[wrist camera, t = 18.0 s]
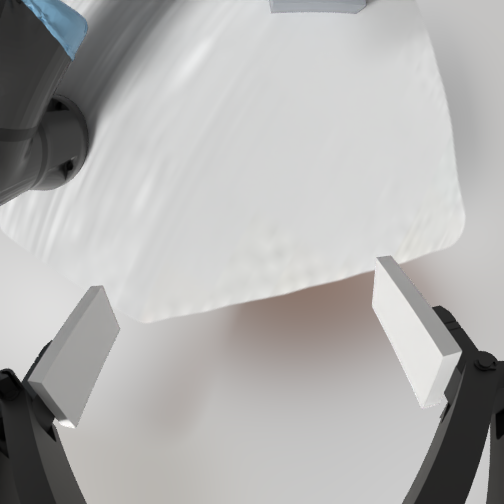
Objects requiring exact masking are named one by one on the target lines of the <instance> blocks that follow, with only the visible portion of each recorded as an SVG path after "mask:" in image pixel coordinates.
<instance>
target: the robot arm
mask: <svg viewBox="0 0 504 504" xmlns="http://www.w3.org/2000/svg"><path fill="white" fill-rule="evenodd" d="M87 30H88V25H87V22H86V20H85V18H84V17H83V16H82V15H80V14H79V13H78V12H76V11H75V10H74V9H72V8H71V7H69V6H68V5H66V4H65V3H63V2H62V1H60V0H0V206H1V205H3V204H4V203H6V202H8V201H10V200H11V199H13V198H15V197H17V196H18V195H20V194H22V193H24V192H26V191H28V190H52V189H55V188H58V187H60V186H62V185H64V184H66V183H67V182H69V181H70V180H71V179H73V178H74V177H75V175H76V174H77V173H78V172H79V170H80V168H81V167H82V165H83V162H84V160H85V157H86V153H87V148H88V131H87V126H86V122H85V119H84V117H83V115H82V113H81V111H80V110H79V108H78V107H77V106H76V105H75V104H74V103H73V102H72V101H71V100H69V99H67V98H65V97H63V96H58V95H53V94H54V92H55V90H56V88H57V86H58V85H59V83H60V81H61V79H62V77H63V75H64V73H65V71H66V70H67V68H68V66H69V64H70V63H71V61H72V62H73V60H74V59H75V53H76V52H77V50H78V48H79V46H80V44H81V43H82V41H83V39H84V37H85V36H86V33H87ZM372 307H373V309H374V311H375V313H376V315H377V317H378V319H379V321H380V323H381V325H382V326H383V329H384V331H385V333H386V334H387V336H388V338H389V340H390V342H391V344H392V346H393V349H394V351H395V353H396V355H397V357H398V359H399V361H400V363H401V365H402V367H403V369H404V371H405V373H406V376H407V378H408V380H409V382H410V384H411V386H412V389H413V391H414V393H415V395H416V397H417V399H418V402H419V404H420V406H421V409H425V408H428V407H431V406H434V405H437V404H439V403H440V401H441V399H442V397H443V395H444V394H445V396H446V398H447V400H448V403H447V405H446V407H445V409H444V411H443V412H442V414H441V416H440V418H441V421H440V423H439V426H438V428H437V431H436V433H435V436H434V438H433V441H432V443H431V446H430V448H429V450H428V453H427V455H426V457H425V459H424V461H423V464H422V466H421V468H420V470H419V472H418V474H417V477H416V478H415V480H414V482H413V484H412V486H411V488H410V490H409V492H408V494H407V496H406V497H405V499H404V501H403V503H402V504H465V501H466V499H467V496H468V494H469V491H470V488H471V486H472V483H473V480H474V477H475V474H476V471H477V468H478V465H479V462H480V459H481V455H482V452H483V448H484V445H485V441H486V437H487V433H488V429H489V425H490V467H489V481H488V492H487V501H486V504H504V361H497V359H496V358H495V357H494V356H493V355H492V354H490V353H488V352H485V351H478V349H477V348H476V346H475V345H474V343H473V342H472V341H471V339H470V338H469V337H468V335H467V334H466V333H465V331H464V330H463V329H462V328H461V326H460V325H459V323H458V322H456V319H455V318H454V317H453V315H452V314H451V313H450V312H449V311H448V310H446V309H445V308H443V307H442V306H436V307H431V306H430V305H429V304H428V302H427V301H426V299H425V298H424V297H423V295H422V294H421V293H420V292H419V290H418V289H417V288H416V286H415V285H414V284H413V283H412V281H411V280H410V279H409V277H408V276H407V275H406V274H405V273H404V271H403V270H402V269H401V268H400V266H399V265H398V264H397V262H396V261H395V260H394V259H393V258H392V256H384V257H376V267H375V280H374V290H373V301H372ZM119 331H120V327H119V325H118V322H117V320H116V317H115V315H114V313H113V310H112V308H111V305H110V303H109V300H108V297H107V295H106V292H105V289H104V287H103V286H92V287H90V288H89V290H88V291H87V292H86V294H85V295H84V296H83V298H82V299H81V300H80V302H79V303H78V305H77V306H76V308H75V309H74V310H73V312H72V313H71V314H70V316H69V317H68V319H67V320H66V322H65V323H64V325H63V326H62V328H61V329H60V330H59V332H58V333H57V335H56V336H55V338H54V339H53V340H51V341H50V342H49V343H48V344H47V345H46V346H44V348H43V349H42V350H41V352H40V354H39V357H37V358H36V360H35V363H33V365H32V366H31V368H30V369H29V371H28V372H27V374H26V376H25V377H24V379H23V381H22V382H20V380H19V379H18V378H17V376H16V375H15V373H14V372H13V371H12V370H11V369H3V370H0V504H87V503H86V501H85V499H84V497H83V495H82V493H81V490H80V489H79V486H78V484H77V481H76V479H75V477H74V475H73V472H72V470H71V467H70V465H69V462H68V460H67V457H66V454H65V452H64V449H63V446H62V444H61V441H60V438H59V435H58V432H57V429H56V427H55V425H54V424H53V420H54V418H56V419H57V420H58V421H59V422H60V424H61V425H62V426H66V427H71V428H76V427H77V425H78V422H79V420H80V417H81V415H82V413H83V410H84V408H85V405H86V403H87V401H88V398H89V396H90V394H91V391H92V389H93V387H94V385H95V382H96V380H97V378H98V375H99V373H100V371H101V369H102V367H103V365H104V362H105V360H106V358H107V356H108V354H109V352H110V350H111V348H112V345H113V343H114V341H115V339H116V337H117V335H118V333H119Z"/></svg>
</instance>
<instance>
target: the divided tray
mask: <svg viewBox="0 0 504 504" xmlns="http://www.w3.org/2000/svg"><path fill="white" fill-rule="evenodd" d="M269 2H270V8H271V13H286V12H335V13H353V14H356V13H357V12H359V11H360V10H361V9H363V8H364V7H365V6H366V0H269Z"/></svg>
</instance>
